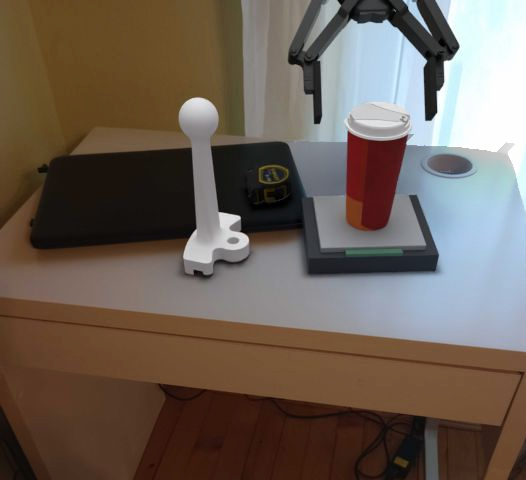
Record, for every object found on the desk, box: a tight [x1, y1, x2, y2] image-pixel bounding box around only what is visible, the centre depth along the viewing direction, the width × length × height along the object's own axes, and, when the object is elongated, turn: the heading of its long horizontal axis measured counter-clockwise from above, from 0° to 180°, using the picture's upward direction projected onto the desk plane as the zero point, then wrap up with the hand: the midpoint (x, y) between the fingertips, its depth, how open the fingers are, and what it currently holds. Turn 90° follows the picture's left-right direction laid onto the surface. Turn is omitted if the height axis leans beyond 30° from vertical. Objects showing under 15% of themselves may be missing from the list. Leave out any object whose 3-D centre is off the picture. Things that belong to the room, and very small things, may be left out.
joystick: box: [178, 97, 250, 276], centre depth 75 cm, size 11×8×20 cm
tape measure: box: [242, 163, 294, 206], centre depth 91 cm, size 7×7×4 cm
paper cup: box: [343, 101, 413, 231], centre depth 77 cm, size 8×8×14 cm
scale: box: [300, 193, 440, 275], centre depth 83 cm, size 16×14×3 cm
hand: (374, 118), depth 76 cm, fingers open, 13 cm apart
